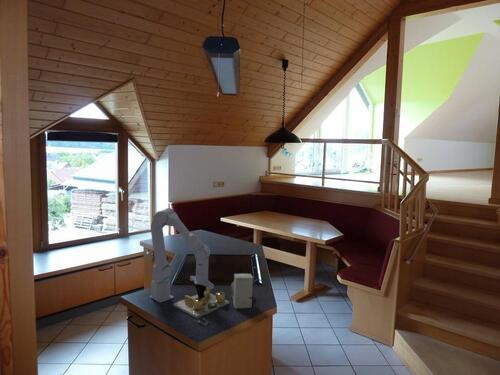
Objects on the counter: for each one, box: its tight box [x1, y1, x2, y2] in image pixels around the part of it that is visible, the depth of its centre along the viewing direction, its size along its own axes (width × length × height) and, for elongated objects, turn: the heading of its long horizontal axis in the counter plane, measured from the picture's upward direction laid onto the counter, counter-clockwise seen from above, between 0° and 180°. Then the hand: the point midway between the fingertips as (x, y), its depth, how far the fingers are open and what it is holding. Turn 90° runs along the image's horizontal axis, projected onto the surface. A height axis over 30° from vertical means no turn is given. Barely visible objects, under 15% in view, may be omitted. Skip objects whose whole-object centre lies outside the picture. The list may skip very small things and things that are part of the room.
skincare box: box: [232, 273, 254, 310], centre depth 168 cm, size 8×6×15 cm
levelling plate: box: [172, 291, 230, 319], centre depth 168 cm, size 17×20×6 cm
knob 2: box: [203, 287, 212, 303], centre depth 172 cm, size 11×4×4 cm, turn 3°
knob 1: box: [183, 294, 203, 310], centre depth 164 cm, size 11×4×4 cm, turn 49°
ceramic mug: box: [230, 281, 234, 300], centre depth 177 cm, size 11×8×8 cm
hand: (200, 298), depth 170 cm, fingers closed, pressing on knob 2
